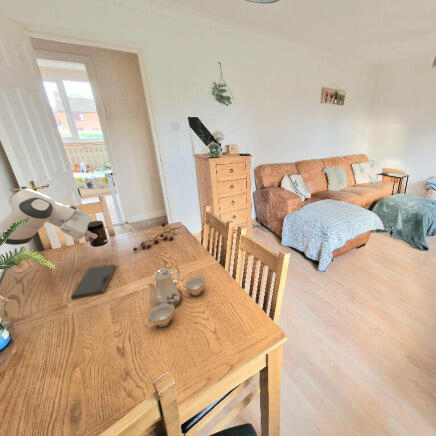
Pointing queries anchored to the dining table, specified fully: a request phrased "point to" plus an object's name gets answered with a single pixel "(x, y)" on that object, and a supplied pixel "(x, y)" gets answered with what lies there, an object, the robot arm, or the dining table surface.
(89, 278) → the slate plate
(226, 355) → the dining table surface
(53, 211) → the robot arm
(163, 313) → the chinaware
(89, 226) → the supplement container
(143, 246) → the decorative branch
